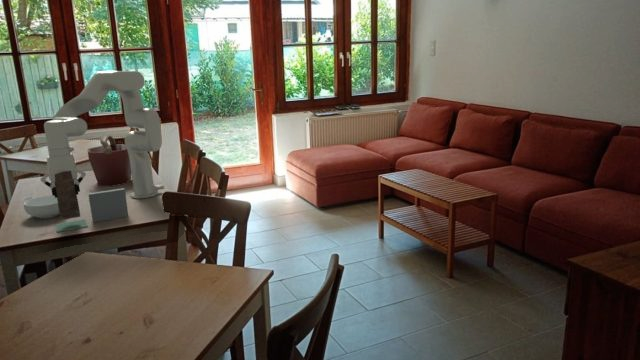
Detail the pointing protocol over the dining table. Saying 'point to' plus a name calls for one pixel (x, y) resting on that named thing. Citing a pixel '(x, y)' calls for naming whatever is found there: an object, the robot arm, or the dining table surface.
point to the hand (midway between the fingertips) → (66, 195)
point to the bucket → (110, 162)
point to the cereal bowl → (42, 207)
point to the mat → (71, 225)
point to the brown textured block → (66, 195)
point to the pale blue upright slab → (108, 204)
